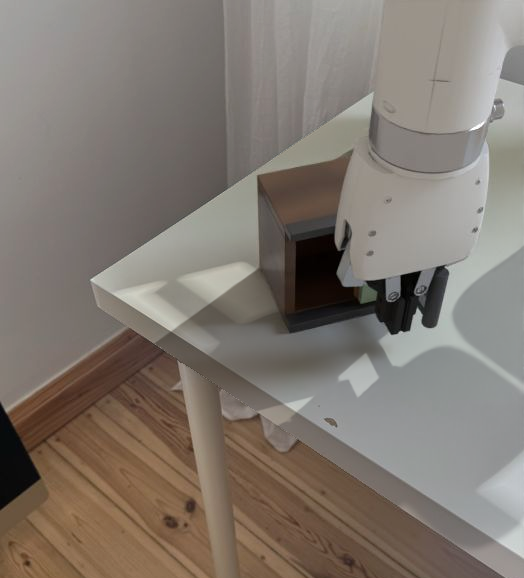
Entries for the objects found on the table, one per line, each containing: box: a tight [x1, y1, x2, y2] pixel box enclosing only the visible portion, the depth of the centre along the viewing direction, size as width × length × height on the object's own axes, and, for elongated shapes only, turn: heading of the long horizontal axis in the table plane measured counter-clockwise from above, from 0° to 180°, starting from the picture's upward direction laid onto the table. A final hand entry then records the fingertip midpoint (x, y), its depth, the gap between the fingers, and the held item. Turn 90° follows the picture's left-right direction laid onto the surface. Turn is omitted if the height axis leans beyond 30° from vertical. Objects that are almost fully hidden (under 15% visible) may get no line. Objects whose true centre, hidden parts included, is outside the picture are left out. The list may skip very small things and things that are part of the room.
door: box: [358, 267, 450, 329], centre depth 63 cm, size 7×7×9 cm
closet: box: [256, 155, 428, 334], centre depth 67 cm, size 10×14×12 cm
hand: (393, 321), depth 62 cm, fingers closed
